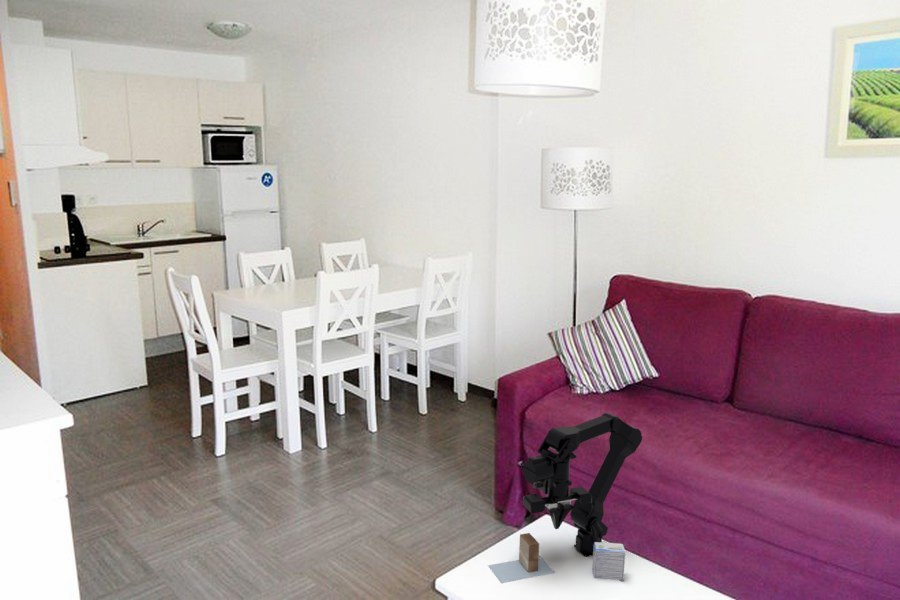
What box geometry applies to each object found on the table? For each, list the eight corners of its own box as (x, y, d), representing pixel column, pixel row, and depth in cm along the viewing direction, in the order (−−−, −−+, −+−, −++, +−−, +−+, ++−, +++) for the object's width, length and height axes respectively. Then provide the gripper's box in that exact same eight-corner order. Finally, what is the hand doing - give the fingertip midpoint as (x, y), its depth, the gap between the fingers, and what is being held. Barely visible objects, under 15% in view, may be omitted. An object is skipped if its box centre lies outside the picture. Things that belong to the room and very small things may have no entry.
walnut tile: (528, 559, 194) (529, 532, 193) (538, 570, 189) (539, 543, 187) (518, 561, 193) (519, 534, 192) (528, 572, 188) (529, 545, 186)
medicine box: (621, 572, 189) (623, 543, 188) (623, 582, 185) (625, 551, 183) (591, 570, 190) (593, 541, 189) (593, 579, 186) (595, 549, 184)
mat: (540, 557, 196) (540, 555, 196) (555, 573, 188) (555, 572, 188) (487, 566, 191) (487, 565, 191) (501, 584, 183) (501, 583, 182)
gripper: (573, 459, 200) (571, 510, 203) (514, 467, 193) (513, 520, 196) (594, 475, 190) (591, 528, 192) (532, 484, 183) (530, 539, 186)
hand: (556, 528), depth 192 cm, fingers closed
